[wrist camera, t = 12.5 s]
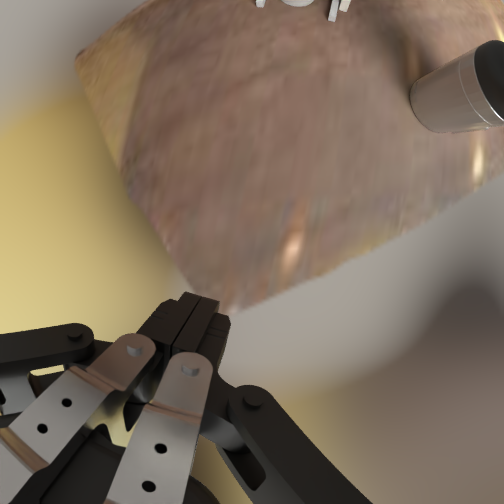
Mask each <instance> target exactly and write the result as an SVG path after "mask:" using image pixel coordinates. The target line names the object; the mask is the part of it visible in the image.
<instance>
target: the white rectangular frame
mask: <svg viewBox="0 0 504 504" xmlns="http://www.w3.org/2000/svg"><path fill="white" fill-rule="evenodd" d="M265 1H266V0H256V5H257V7H264V4H265ZM350 2H351V0H341V1H340V6H339V10H341V11H344V12H347V9H348V7H349V4H350ZM338 4H339V0H332V4H331V8H330V13H329V18H328V20H329V21H332V22H335V19H336V14H337V9H338Z"/></svg>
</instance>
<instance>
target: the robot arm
mask: <svg viewBox="0 0 504 504" xmlns="http://www.w3.org/2000/svg"><path fill="white" fill-rule="evenodd" d="M410 101H411V106H412V109H413V111H414V113H415V115H416V117H417V118H418V120H419V121H420V122H421V123H422V124H423V125H424V126H425V127H426V128H428V129H429V130H431V131H433V132H437V133H446V132H452V133H461V132H470V131H480V130H487V129H488V128H489V127H497V126H504V42H502V41H498V40H492V41H489V42H486V43H484V44H482V45H480V46H478V47H476V48H474V49H472V50H471V51H469V52H467V53H465V54H463V55H461V56H459V57H458V58H456V59H454V60H452V61H450V62H448V63H447V64H445V65H443V66H441V67H439V68H438V69H436V70H434V71H432V72H431V73H429V74H427V75H425V76H424V77H422V78H420V79H419V80H417V81H416V82H415V83H414V84H413V86H412V88H411V91H410ZM219 304H220V301H217V300H213V299H210V298H206V297H202V296H199V295H196V294H192V293H189V292H184V294H183V295H182V296H181V297H180V299H179V300H178V301H176V300H173V299H169V300H167V301H165V302H162V303H161V304H160V305H159V306H158V307H157V308H156V311H154V312H153V313H152V314H151V316H150V317H149V318H148V319H147V320H146V321H145V323H144V324H143V325H142V326H141V327H140V329H139V330H138V331H137V332H136V333H131V334H125V335H123V336H121V337H119V338H118V339H117V340H116V341H115V342H114V343H113V342H105V341H100V340H95V339H94V334H93V332H92V330H91V329H90V328H89V327H88V326H86V325H83V324H79V323H71V324H65V325H58V326H52V327H46V328H40V329H34V330H28V331H21V332H14V333H6V334H0V504H220V503H219V501H218V500H217V498H216V497H215V496H214V495H213V493H212V492H211V491H210V490H209V489H208V488H207V487H206V486H204V485H203V484H202V483H201V482H199V481H198V480H196V479H195V478H194V477H192V476H190V473H191V469H192V464H193V459H194V455H195V451H196V446H197V441H198V437H199V434H201V435H202V436H204V437H205V438H207V439H209V440H210V441H212V442H214V443H215V445H216V448H217V450H218V452H219V453H220V455H221V457H222V458H223V460H224V461H225V463H226V465H227V466H228V468H229V469H230V471H231V472H232V474H233V475H234V477H235V478H236V480H237V481H238V483H239V484H240V485H241V487H242V489H243V490H244V491H245V493H246V494H247V495H248V497H249V498H250V500H251V501H252V502H253V504H373V503H371V502H370V501H369V500H368V499H367V498H366V497H365V496H364V495H363V494H362V493H361V492H360V491H359V490H358V489H356V487H355V486H353V484H351V482H350V481H348V480H347V479H346V478H345V476H343V474H342V473H341V472H340V471H339V470H338V469H337V468H335V466H334V465H333V464H332V463H331V462H330V461H329V460H328V459H327V458H326V457H325V456H324V455H323V454H322V453H321V451H320V450H319V449H318V448H317V447H316V446H315V445H314V444H313V443H312V442H311V441H310V439H308V437H307V436H306V435H305V434H304V433H303V432H302V430H301V429H300V428H299V427H298V426H297V425H296V424H295V422H294V421H293V420H292V419H291V418H290V417H289V415H288V414H287V413H286V412H285V411H284V409H283V408H282V407H281V406H280V405H279V404H278V402H277V401H276V400H275V399H274V397H273V396H272V395H271V394H270V393H269V392H268V391H266V390H265V389H263V388H261V387H258V386H254V385H243V386H239V387H237V388H235V387H233V386H231V385H229V384H228V383H226V382H225V381H224V380H223V379H222V378H221V377H220V376H219V374H218V369H219V366H220V363H221V360H222V357H223V354H224V351H225V347H226V343H227V338H228V334H229V330H230V326H231V323H230V320H229V317H228V316H227V315H223V314H219V313H218V310H219ZM57 365H63V367H64V370H65V371H61V372H56V373H51V374H45V375H40V376H35V375H33V374H31V373H30V371H32V370H36V369H42V368H48V367H52V366H57Z"/></svg>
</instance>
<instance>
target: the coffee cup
mask: <svg viewBox="0 0 504 504" xmlns="http://www.w3.org/2000/svg"><path fill="white" fill-rule="evenodd" d="M281 1H282V2H284V3H286V4H288V5H291V6H298V7H300V6H306V5H309V4H311V3H312V2H313V1H314V0H281Z"/></svg>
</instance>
